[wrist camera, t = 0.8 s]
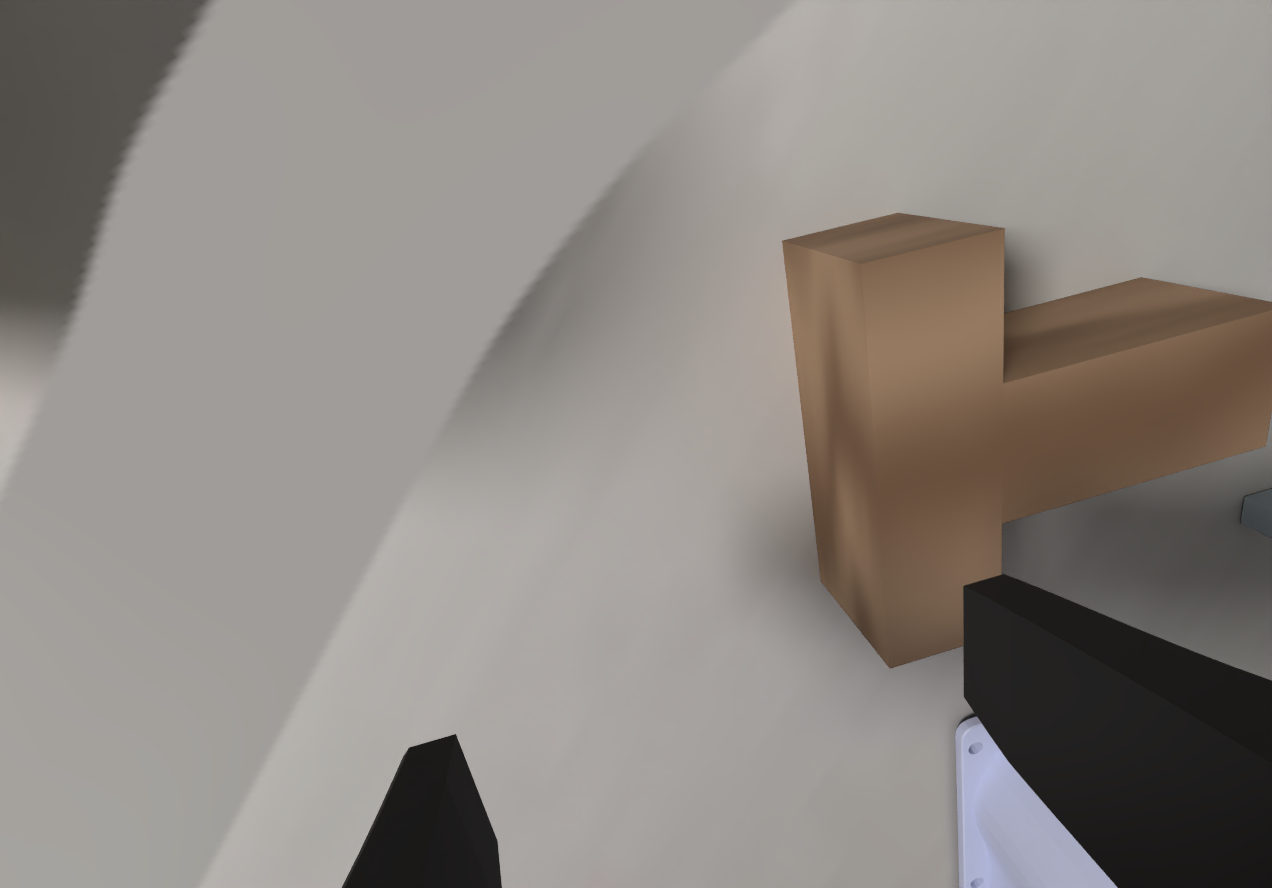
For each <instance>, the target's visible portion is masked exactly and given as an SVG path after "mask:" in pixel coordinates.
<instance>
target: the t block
mask: <svg viewBox="0 0 1272 888" xmlns="http://www.w3.org/2000/svg"><path fill="white" fill-rule="evenodd" d="M1004 238H1005V228H998V227H992V226H985V225H978V224H971V223H964V222H957V221H950V220H943V219H936V218H929V217H922V216H916V215H909V214H902V213H895V214H891V215H887V216H883V217H879V218H875V219H871V220H866V221H862V222H858V223H854V224H850V225H846V226H842V227H838V228H833V229H829V230H825V231H821V232H817V233H813V234H809V235H805V236H800V237H796V238H792V239H788V240H784V241H782V243H783V252H784V261H785V270H786V279H787V287H788V296H789V305H790V314H791V322H792V331H793V340H794V349H795V357H796V366H797V375H798V384H799V393H800V401H801V410H802V419H803V428H804V436H805V445H806V454H807V463H808V472H809V480H810V489H811V498H812V507H813V515H814V524H815V533H816V542H817V550H818V559H819V568H820V577H821V582H822V583H823V585H824V586H825V587H826V588H827V590H828V591H829V592H830V593H831V595H832V596H833V597H834V598H835V600H836V601H837V602H838V604H839V605H840V606H841V607H842V609H843V610H844V611H845V612H846V614H847V615H848V616H849V617H850V619H851V620H852V621H853V623H854V624H855V625H856V626H857V628H858V629H859V630H860V631H861V633H862V634H863V635H864V636H865V638H866V639H867V640H868V642H869V643H870V644H871V645H872V647H873V648H874V649H875V650H876V652H877V653H878V654H879V655H880V657H881V658H882V659H883V661H884V662H885V663H886V664H887V666H888V667H889V668H894V667H897V666H900V665H903V664H906V663H910V662H913V661H916V660H919V659H923V658H926V657H929V656H932V655H935V654H939V653H942V652H945V651H948V650H952V649H955V648H958V647H961V646H964V626H963V586H964V585H967V584H971V583H974V582H978V581H981V580H985V579H988V578H991V577H995V576H998V575H1002V523H1006V522H1009V521H1013V520H1016V519H1019V518H1023V517H1026V516H1030V515H1033V514H1037V513H1040V512H1043V511H1047V510H1050V509H1054V508H1057V507H1060V506H1064V505H1067V504H1071V503H1074V502H1077V501H1081V500H1084V499H1088V498H1091V497H1094V496H1098V495H1101V494H1105V493H1108V492H1111V491H1115V490H1118V489H1122V488H1125V487H1128V486H1132V485H1135V484H1139V483H1142V482H1146V481H1149V480H1152V479H1156V478H1159V477H1163V476H1166V475H1169V474H1173V473H1176V472H1180V471H1183V470H1186V469H1190V468H1193V467H1197V466H1200V465H1203V464H1207V463H1210V462H1214V461H1217V460H1220V459H1224V458H1227V457H1231V456H1234V455H1237V454H1241V453H1244V452H1248V451H1251V450H1254V449H1258V448H1261V447H1265V446H1266V442H1267V436H1268V430H1269V424H1270V418H1271V413H1272V302H1269V301H1264V300H1258V299H1253V298H1248V297H1242V296H1237V295H1232V294H1227V293H1221V292H1216V291H1211V290H1205V289H1200V288H1195V287H1189V286H1184V285H1179V284H1174V283H1168V282H1163V281H1158V280H1152V279H1147V278H1142V277H1141V278H1137V279H1134V280H1130V281H1126V282H1122V283H1118V284H1114V285H1111V286H1107V287H1103V288H1099V289H1095V290H1091V291H1088V292H1084V293H1080V294H1076V295H1072V296H1069V297H1065V298H1061V299H1057V300H1053V301H1049V302H1046V303H1042V304H1038V305H1034V306H1030V307H1027V308H1023V309H1019V310H1015V311H1011V312H1007V313H1004Z"/></svg>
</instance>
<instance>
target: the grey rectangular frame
mask: <svg viewBox="0 0 1272 888" xmlns="http://www.w3.org/2000/svg"><path fill="white" fill-rule="evenodd" d="M1241 523H1242V524H1244V525H1246V526H1248V527H1250V528H1252V529H1254V530H1256V531H1258V532H1260V533H1262V534H1264V535H1266V536H1268V537H1270V538H1272V489H1269V490H1265V491H1262V492H1259V493H1255V494H1252V495H1249V496H1245V499H1244V505H1243V511H1242V517H1241Z"/></svg>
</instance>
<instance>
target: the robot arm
mask: <svg viewBox="0 0 1272 888" xmlns="http://www.w3.org/2000/svg"><path fill="white" fill-rule="evenodd" d="M963 626H964V698H965V699H966V701H967V702H968V704H969V705H970V707H971V708H972V710H973V711H974V713H975V714H976V717H973V718H970V719H967V720H965V721H963V722H962V723H961V724H960V725H959V726H958V728H957V730H956V769H957V809H958V849H959V888H1272V681H1271V680H1268V679H1265V678H1263V677H1260V676H1257V675H1254V674H1252V673H1249V672H1246V671H1243V670H1241V669H1238V668H1235V667H1232V666H1230V665H1227V664H1224V663H1222V662H1219V661H1217V660H1214V659H1211V658H1209V657H1206V656H1204V655H1201V654H1198V653H1196V652H1193V651H1191V650H1188V649H1186V648H1183V647H1181V646H1178V645H1176V644H1173V643H1171V642H1168V641H1166V640H1163V639H1161V638H1158V637H1156V636H1153V635H1151V634H1148V633H1146V632H1144V631H1141V630H1139V629H1136V628H1134V627H1131V626H1129V625H1127V624H1124V623H1122V622H1119V621H1117V620H1115V619H1112V618H1110V617H1107V616H1105V615H1103V614H1100V613H1098V612H1096V611H1093V610H1091V609H1088V608H1086V607H1084V606H1081V605H1079V604H1076V603H1074V602H1072V601H1069V600H1067V599H1065V598H1062V597H1060V596H1057V595H1055V594H1053V593H1050V592H1048V591H1045V590H1043V589H1040V588H1038V587H1035V586H1033V585H1030V584H1028V583H1025V582H1023V581H1020V580H1018V579H1015V578H1012V577H1009V576H1007V575H1004V574H1002V575H998V576H995V577H991V578H988V579H985V580H981V581H978V582H974V583H971V584H967V585H964V586H963ZM342 888H502V885H501V875H500V864H499V853H498V842H497V839H496V836H495V834H494V831H493V829H492V826H491V824H490V821H489V818H488V816H487V813H486V811H485V808H484V806H483V803H482V800H481V798H480V795H479V793H478V790H477V788H476V785H475V782H474V780H473V777H472V775H471V772H470V770H469V767H468V764H467V762H466V759H465V757H464V754H463V752H462V749H461V746H460V744H459V741H458V739H457V736H456V734H454V735H451V736H448V737H444V738H441V739H437V740H434V741H430V742H427V743H424V744H420V745H417V746H413V747H410V748H409V749H408V750H407V752H406V753H405V755H404V756H403V759H402V761H401V763H400V765H399V767H398V770H397V772H396V774H395V776H394V779H393V781H392V783H391V785H390V788H389V790H388V792H387V794H386V796H385V799H384V801H383V803H382V805H381V807H380V810H379V812H378V814H377V816H376V818H375V820H374V823H373V825H372V827H371V829H370V831H369V833H368V835H367V837H366V840H365V842H364V844H363V846H362V848H361V850H360V852H359V854H358V856H357V858H356V860H355V862H354V864H353V866H352V868H351V870H350V872H349V874H348V876H347V878H346V880H345V882H344V884H343V886H342Z"/></svg>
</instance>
